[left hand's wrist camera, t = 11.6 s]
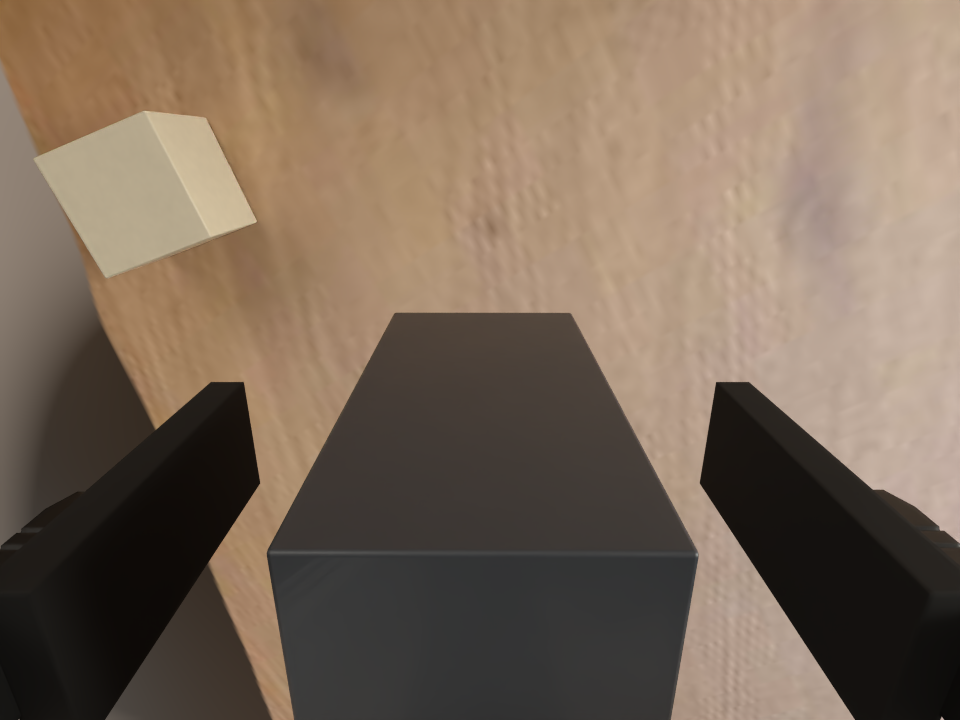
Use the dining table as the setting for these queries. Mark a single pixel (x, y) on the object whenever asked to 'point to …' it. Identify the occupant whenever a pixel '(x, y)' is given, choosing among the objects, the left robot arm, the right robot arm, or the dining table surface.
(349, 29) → the dining table surface
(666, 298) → the dining table surface
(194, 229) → the cream block
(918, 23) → the dining table surface
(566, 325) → the plank
